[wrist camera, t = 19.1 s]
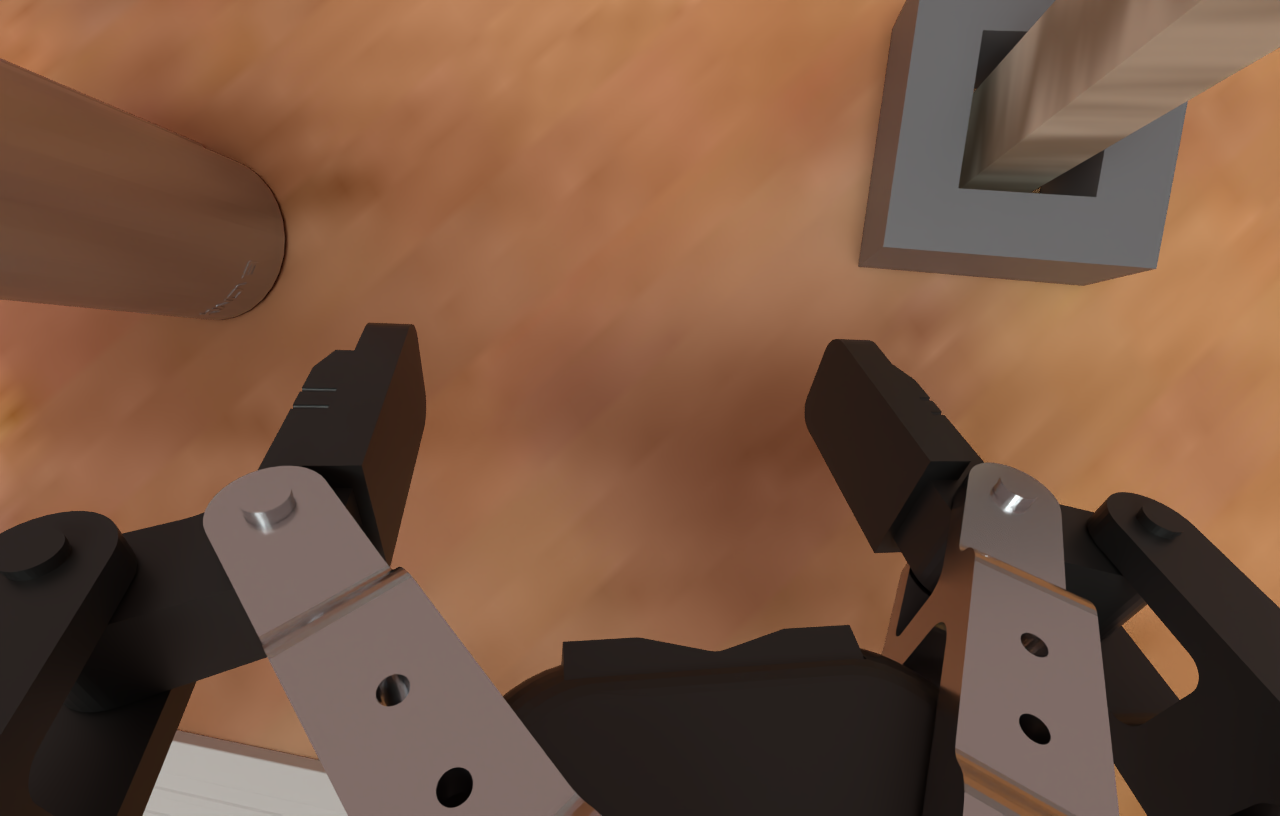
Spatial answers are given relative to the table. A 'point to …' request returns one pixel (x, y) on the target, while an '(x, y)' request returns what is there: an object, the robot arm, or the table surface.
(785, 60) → the table surface
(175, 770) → the baseboard
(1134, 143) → the grey square hole block
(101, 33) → the table surface
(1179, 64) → the beige tall bar
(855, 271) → the table surface
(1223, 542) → the table surface
